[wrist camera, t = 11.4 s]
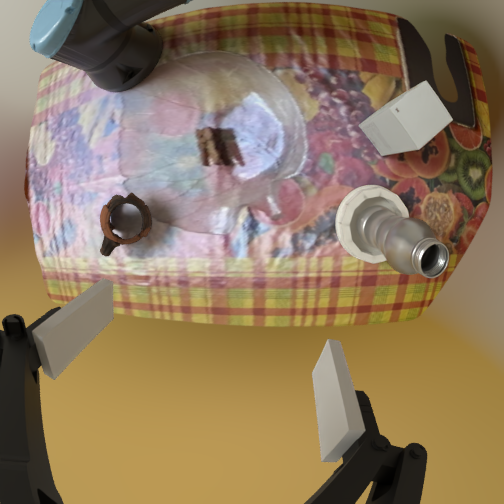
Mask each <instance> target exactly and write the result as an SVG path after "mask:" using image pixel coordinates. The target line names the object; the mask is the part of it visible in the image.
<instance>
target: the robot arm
mask: <svg viewBox="0 0 504 504" xmlns="http://www.w3.org/2000/svg"><path fill="white" fill-rule="evenodd" d="M190 1H192V0H47V1H46V3H45V4H44V5H43V7H42V8H41V10H40V11H39V13H38V15H37V17H36V19H35V21H34V23H33V26H32V28H31V32H30V45H31V48H32V49H33V50H34V51H35V52H38V53H40V54H42V55H44V56H45V57H46V58H51V59H54V60H56V61H59V62H62V63H65V64H68V65H70V66H73V67H76V68H78V69H81V70H83V71H85V72H86V73H87V75H88V76H89V77H90V78H91V80H92V81H93V82H94V84H95V85H97V86H98V87H100V88H102V89H104V90H107V91H110V92H120V91H124V90H127V89H129V88H132V87H133V86H135V85H137V84H138V83H140V82H141V81H142V80H143V79H144V78H146V77H147V76H148V75H149V73H150V72H151V71H152V70H153V69H154V67H155V66H156V64H157V62H158V60H159V58H160V55H161V52H162V46H163V44H162V38H161V36H160V34H159V32H158V31H157V30H156V29H155V28H154V27H153V26H151V25H150V24H148V23H145V22H144V21H146V20H148V19H150V18H152V17H154V16H156V15H158V14H160V13H163V12H165V11H167V10H169V9H172V8H174V7H176V6H179V5H181V4H187V3H189V2H190ZM113 319H114V317H113V281H110V280H107V279H104V278H103V279H101V280H100V281H99V282H97V283H96V284H94V285H93V286H91V287H90V288H89V289H87V290H86V291H84V292H83V293H82V294H80V295H79V296H77V297H76V298H75V299H73V300H72V301H71V302H69V303H68V304H67V305H65V306H64V307H62V308H61V307H57V308H54V309H51V310H50V311H48V312H47V313H46V314H45V315H43V316H42V317H41V318H39V319H38V320H36V321H35V322H34V323H32V324H31V325H30V326H28V327H27V328H26V327H25V323H24V319H23V318H22V316H20V315H16V314H13V315H9V316H6V317H5V318H4V319H3V321H2V325H3V328H4V331H2V330H0V504H63V501H62V499H61V497H60V495H59V493H58V491H57V489H56V487H55V484H54V480H53V477H52V472H51V469H50V464H49V459H48V455H47V449H46V443H45V437H44V430H43V423H42V414H41V402H40V385H39V371H38V368H39V367H40V366H41V365H42V368H43V371H44V373H45V374H46V375H48V376H49V377H51V378H52V379H54V380H55V379H56V378H57V377H58V376H59V375H60V374H61V373H62V372H63V370H64V369H65V368H66V367H67V366H68V365H69V364H70V363H71V362H72V361H73V360H74V359H75V357H76V356H78V354H79V353H80V352H81V351H82V350H83V349H84V348H85V347H86V346H87V345H88V344H89V343H90V342H91V341H92V340H93V339H94V338H95V337H96V335H98V334H99V333H100V332H101V331H102V330H103V329H104V328H105V327H106V326H107V325H108V324H109V323H110V322H111V321H112V320H113ZM312 376H313V385H314V393H315V401H316V410H317V419H318V429H319V440H320V451H321V461H322V462H337V461H338V460H339V459H340V458H341V457H342V458H343V464H342V465H341V466H339V467H338V468H337V469H336V470H335V471H334V473H333V475H332V476H331V477H330V478H329V479H328V480H327V481H326V482H325V483H324V484H323V485H322V486H321V488H320V489H319V490H318V491H317V492H316V493H315V494H314V495H313V496H312V497H311V498H309V499H308V500H307V501H306V502H305V503H304V504H355V503H356V501H357V500H358V499H359V497H360V496H361V495H362V493H363V492H364V490H365V489H366V488H367V486H368V485H369V484H370V482H371V481H373V485H372V488H371V491H370V493H369V496H368V499H367V501H366V504H420V500H421V495H422V489H423V484H424V478H425V471H426V463H427V451H426V450H425V448H424V447H423V446H422V445H420V444H418V443H411V444H409V445H408V446H406V447H405V448H400V447H396V446H393V445H391V444H390V442H389V440H388V439H387V438H386V437H384V436H382V435H380V433H379V430H378V426H377V423H376V420H375V416H374V413H373V410H372V407H371V404H370V400H369V398H368V396H367V395H366V394H365V393H364V391H356V390H354V386H353V382H352V379H351V376H350V372H349V369H348V365H347V362H346V359H345V355H344V352H343V349H342V346H341V343H340V341H337V340H331V339H328V340H327V342H326V345H325V347H324V349H323V351H322V354H321V356H320V358H319V360H318V362H317V364H316V366H315V368H314V370H313V372H312Z"/></svg>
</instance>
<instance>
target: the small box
mask: <svg viewBox="0 0 504 504" xmlns="http://www.w3.org/2000/svg"><path fill="white" fill-rule="evenodd" d="M452 121H453V119H452V117H451V116H450V114H449V113H448V111H447V110H446V108H445V107H444V105H443V104H442V102H441V101H440V99H439V98H438V96H437V95H436V93H435V92H434V91H433V89H432V88H431V86H430V85H429V84H428V82H427V81H424V82H422V83H420V84H418V85H417V86H415V87H413V88H412V89H410V90H408V91H406V92H405V93H403V94H402V95H400V96H398V97H397V98H395V99H393V100H392V101H390V102H388V103H387V104H386V105H384V106H383V107H382V108H380V109H379V110H378V111H376V112H375V113H374V114H372V115H371V116H370V117H368V118H367V119H366V120H365V121H363V122H362V123H361V124H360V125H359V127H360V128H361V129H362V131H363V132H364V133H365V134H366V136H367V137H368V138H369V140H370V141H371V142H372V143H373V145H374V146H375V147H376V149H377V150H378V152H379V153H380V154H381V156H385V155H391V154H396V153H402V152H408V151H414V150H420V149H421V148H422V147H423V146H425V145H426V144H427V143H428V142H429V141H430V140H431V139H433V138H434V137H435V136H436V135H437V134H438V133H439V132H441V131H442V130H443V129H444V128H445V127H446V126H447V125H448V124H449V123H450V122H452Z"/></svg>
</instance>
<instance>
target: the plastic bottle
mask: <svg viewBox="0 0 504 504" xmlns="http://www.w3.org/2000/svg"><path fill="white" fill-rule="evenodd" d="M356 229H357V233H358V235H359V237H360V239H361V240H362V242H363V243H365V244H366V245H368V246H370V247H373V248H376V249H378V250H380V252H381V253H382V254H383V255H384V257H385V258H386V260H387V262H388V263H389V264H390V266H391V267H392V268H393V269H394V270H396V271H397V272H399V273H403V274H417V273H419V274H422V275H423V276H425V277H427V278H435V277H438V276H439V275H441V274H442V273H443V272H444V270H445V269H446V267H447V265H448V261H449V252H448V249H447V247H446V246H445V245H444V244H443V243H441V242H439V241H438V240H437V239H436V237H435V234H434V232H433V230H432V229H431V228H430V226H429V225H428V224H427V223H426V222H424V221H423V220H420V219H416V218H407V217H400V216H397V215H396V214H395V213H394V212H392V211H391V210H390V209H389V208H387V207H385V206H382V205H374V206H370V207H367V208H366V209H364V210H363V211H362V212H361V213H360V215H359V217H358V219H357V223H356Z"/></svg>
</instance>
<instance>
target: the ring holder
mask: <svg viewBox="0 0 504 504" xmlns="http://www.w3.org/2000/svg"><path fill="white" fill-rule="evenodd" d="M374 205H382V206H385V207H387V208H389V209H390V210H391V211H392V212H394V213H395V214H396V215H397V216H400V217H407V218H409V214H408V209H407V208H406V206H405V205H404V204H403V202H402V201H401V199H400V198H399V197H398V195H396V194H394V193H392V192H391V191H390V190H388V189H386V188H384V187H381V186H377V185H364V186H360V187H358V188H356V189H354V190H352V191H351V192H350V193H348V194H347V195H346V196H345V197H344V199H343V200H342V201H341V203H340V205H339V207H338V210H337V213H336V218H335V228H336V234H337V237H338V239H339V241H340V243H341V245H342V246H343V247H344V249H345V250H346V251H347V252H348V253H349V254H351V255H352V256H354V257H355V258H357V259H360V260H364V261H367V262H370V263H379V262H383V261H387V260H386V258H385V257H384V255H383V254H382V253H381V252H380V250H378V249H376V248H373V247H370V246H368V245H366V244H365V243H363V242H362V240H361V239H360V237H359V235H358V233H357V229H356V223H357V219H358V217H359V215H360V213H361V212H362V211H363V210H364V209H366V208H367V207H370V206H374Z"/></svg>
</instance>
